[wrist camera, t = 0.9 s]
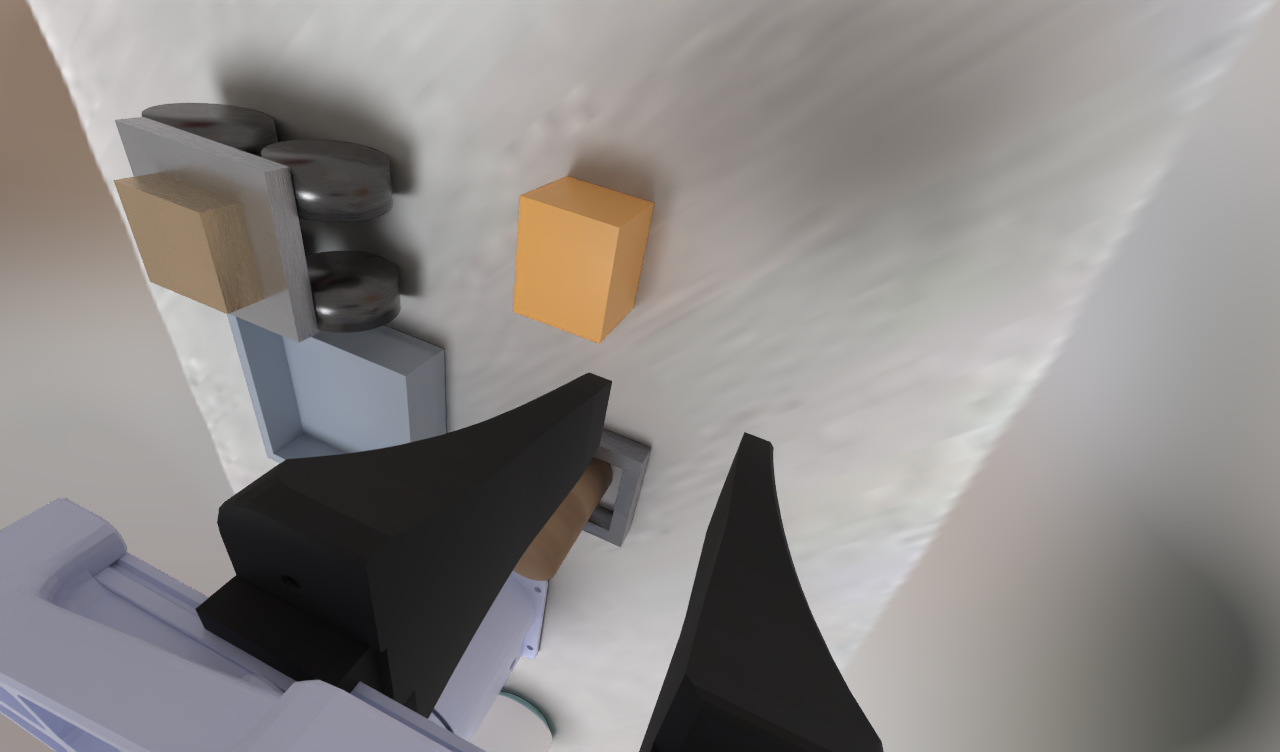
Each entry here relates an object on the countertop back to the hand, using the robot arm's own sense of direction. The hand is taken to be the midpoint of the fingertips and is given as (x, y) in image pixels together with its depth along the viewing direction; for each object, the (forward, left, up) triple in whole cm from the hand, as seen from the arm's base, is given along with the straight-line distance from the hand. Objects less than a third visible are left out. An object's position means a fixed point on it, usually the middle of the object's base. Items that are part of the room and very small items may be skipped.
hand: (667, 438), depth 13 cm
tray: (-14, +19, -9) cm, 25 cm away
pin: (-12, +5, -9) cm, 16 cm away
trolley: (-2, +20, -9) cm, 22 cm away
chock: (0, +6, -10) cm, 11 cm away
